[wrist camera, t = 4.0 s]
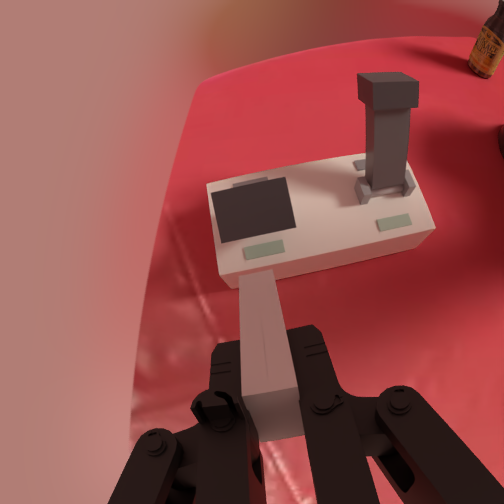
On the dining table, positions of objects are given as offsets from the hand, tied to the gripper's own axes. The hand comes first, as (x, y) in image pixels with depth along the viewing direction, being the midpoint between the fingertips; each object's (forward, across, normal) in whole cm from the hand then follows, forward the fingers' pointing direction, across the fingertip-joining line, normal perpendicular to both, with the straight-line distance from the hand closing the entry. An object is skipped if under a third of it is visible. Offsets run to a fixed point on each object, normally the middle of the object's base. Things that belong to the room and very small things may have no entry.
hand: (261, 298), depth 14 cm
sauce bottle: (+40, +53, +14) cm, 68 cm away
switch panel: (+21, +7, -6) cm, 23 cm away
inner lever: (+16, +14, -1) cm, 21 cm away
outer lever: (+16, 0, -2) cm, 16 cm away
